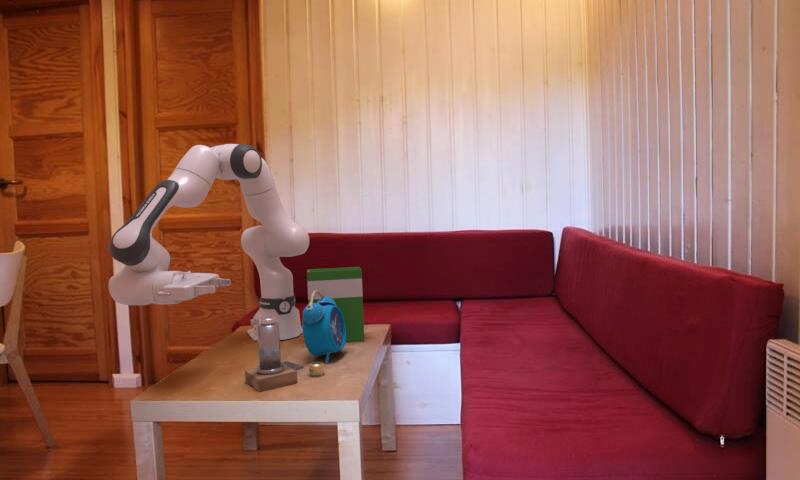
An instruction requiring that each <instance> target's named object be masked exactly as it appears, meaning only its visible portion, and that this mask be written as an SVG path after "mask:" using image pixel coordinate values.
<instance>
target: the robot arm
mask: <svg viewBox="0 0 800 480" xmlns="http://www.w3.org/2000/svg"><path fill="white" fill-rule="evenodd" d="M215 180H225V181H233V180H237V181H238V182H239V185H240V191H241V193H242V196H243V199H244V203H245V205H246V206H245V207H246V209H247V212H248V215H249V216H250V217H251V218H252V219H254V220H255V221H258V222H259V223H260V224H261V225H255V226H252V227H249V228H246V229H245V230H244V231H243V232H242V234H241V238H240V245H241V249H242V250H243V252H244V253H245V254H247V255H248V256H249V257H250V258H251V260H252V261H253V263H254V265H255V266H256V269H257V272H258V275H259V281H260V282H259V283H260V295H261V296H260V298H259V306H258V307H259V309H258V310H257V312H256V313H255V314H254V316H253V318H252V319H250V325H251V326H253V327H252V328H249V329H247V334H248V335H249V337H250V339H252V341H258V331H257V325H258V324H261V318H264V317H275V322H276V323H279V334H280V341H282V340H284V341H285V340H289V339H293V338H297V337H299V336H300V335H301V334H303V328H302V325H301V318H300V315H301V314H300V310H299V309H298V308H297V307H296V306H295V305H296V297H295V296H296V295H295V294H294V277H293V273H292V272H291V270H290V269H288V268H287V267H286V266H284V265H283V263H282V261H281V257H283V258H286V257H287V258H288V257H289V258H291V257H295V256H296V257H297V256H301V255H303V254H305V253H306V251H307V250H308V248H309V246H310V235H309V233H308V232H307V230H306V229H305V228H304V227H303V226H301V225H300V224H297V222H295V220H293V219H292V218H291V217H290V215H289V214H288V212H286V209H285V208H284V206H283V204H282V201H281V199H280V196H279V192H278V190H277V187H276V183H275V179H274V178H273V175H272V172H271V170H270V168H269V166H268V164H267V162H266V161H265V159H264V158H263V157H262V156H261V154H260V152H259V150H258V149H257V148H256V147H255V146H254V145H253V146H252V145H250V144H245V143H240V144H239V143H224V144H220V145H210V146H207V145H203V144H196V145H193V146H192V147H190V149H188V151H187V152H186V153H185V154H184V155H183V156H182V157H181V159H180V161H179V162H178V163H177V165H176V167H175V168H174V170H173V171H172V173H171V174H170V176H169V177H168V178H167V179H164V180H162V181H160V182H158V184H156V185H155V187H154V188H153V189H151V191H150V192H149V193H148V195H146V197H145V198H144V200H143V201H142V202H141V203H140V205H138V208H137V209H136V210H135V211H134V213H133V214H132V215H131V216H130V217H129V219H128V220H127V221H126V222H125V223H124V224H123V225H122V226H120V227H119V228H118V229H117V230H116V231H115V232H114V233H113V235H112V236H111V238H110V240H109V247H108V249H109V254H110V255H111V257H112V258H113V259H114V260H115V261H117V262H119V263H121V264H123V265H124V266H123V267H122V269H120V271H119V272H118V273H116V274H114V275H112V276H111V277H110V278H109V279H108V280H109V281H108V292H109V294H110V296H111V298H112V300H113V301H114V302H116V303H117V304H120V305H125V306H148V305H151V304H155V305H162V306H163V305H178V304H180V303H182V302H184V301H190V300H193V299H195V298H197V297H199V296H202V295H207V294H215V293H216V292H217V291H218V289H217V288H219V287H229V286H231V279H229V278H221V277H220V275H219V274H218V273H212V272H210V273H208V272H192V271H191V270H183V271H180V270H169V268H170V265H171V255H170V252H169V251H168V250H167V249H166V248H165V247H164V246H163V245H162V244H161V243H159V242H158V241H157V240H156V239H155V238H154V237H153V230H154V229H155V227H156V225H157V224H158V223H159V222H160V220H161V218H162V217H164V215H165V213H166V212H167V211H168V210H169V209H170V208H172V207H174V206H175V207H179V208H183V209H185V208H186V209H190V208H195V207H197V206H199V205H201V204H202V202H203V201H205V199H206V198H207V196H208V193H209V192H210V190H211V188H212V187H213V184H214V183H215V182H214V181H215Z"/></svg>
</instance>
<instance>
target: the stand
mask: <svg viewBox="0 0 800 480" xmlns="http://www.w3.org/2000/svg"><path fill="white" fill-rule="evenodd" d="M281 364H282V362H281ZM283 365H284V364H283ZM256 368H257V367H255V368H249V369H245V370H244V378H245V383H246V384H248V385H249V386H250V387H252V388H254V389H255V390H257V391H258V392H259V393H260V392H264V391H268V390H272V389H273V390H274V389H276V388H281V387H286V386H290V385H295V384H298V370H297V371H295V370H294V369H292V368H290V367H288V366H286V365H284V371H283V372H281V373H278V374H273V375H260V374H257V373H256Z"/></svg>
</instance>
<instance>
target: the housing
mask: <svg viewBox="0 0 800 480" xmlns="http://www.w3.org/2000/svg"><path fill="white" fill-rule="evenodd" d="M257 331H258V340H257V346H258V349H257V350H258V366H256V367H255V368H256V373H257V374H260V375H273V374H278V373H281V372H283V371H284V365H283V364H281V363H282V360H281V359H282V357H281V340H280V334H279V323H276V322H275V317H264V318H261V324H258V325H257Z"/></svg>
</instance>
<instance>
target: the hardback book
mask: <svg viewBox="0 0 800 480" xmlns="http://www.w3.org/2000/svg"><path fill="white" fill-rule="evenodd" d="M306 270H307V271H306V281H307V282H306V283H307V305H309V303H310V300H311V295H312V293H313V291H315V290H317V291H319V292H320V293H321V294H322V295H323V296H327V297H329V298H332V299H333V300H334V301H335V303H336V306H337V307H338V308H339V309H340V311H341V313H342V315H343V318H344V322H345V328H346V342H345V344H349V343H350V344H351V343H364V342H365V321H364V319H365V318H364V301H363V300H364V299H363V298H364V297H363V270H362V268H361V267H360V266H352V267H350V266H349V267H335V268H334V267H333V268H330V267H329V268H314V269H311V268H310V269H306ZM321 298H323V297H321V296H320V295H319V294H318V293H317V292H315V294H314V297H313V303H317V302H318V300H319V299H321Z"/></svg>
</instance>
